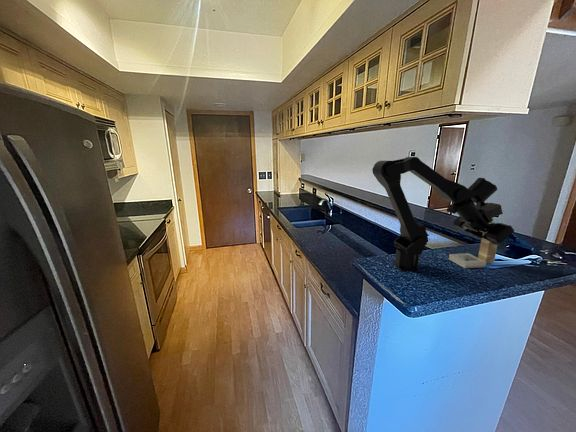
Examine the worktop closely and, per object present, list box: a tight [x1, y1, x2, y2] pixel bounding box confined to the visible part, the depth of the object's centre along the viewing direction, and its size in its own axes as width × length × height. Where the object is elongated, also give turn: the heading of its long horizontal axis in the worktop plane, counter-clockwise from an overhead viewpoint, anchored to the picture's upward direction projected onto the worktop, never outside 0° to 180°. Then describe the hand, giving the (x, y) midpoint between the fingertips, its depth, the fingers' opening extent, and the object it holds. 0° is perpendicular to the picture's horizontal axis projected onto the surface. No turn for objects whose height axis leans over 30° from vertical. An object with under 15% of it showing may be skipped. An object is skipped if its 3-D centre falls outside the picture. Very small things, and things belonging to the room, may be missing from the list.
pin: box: [477, 221, 499, 264], centre depth 85 cm, size 3×3×14 cm
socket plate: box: [448, 252, 487, 269], centre depth 86 cm, size 8×8×2 cm
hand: (492, 242), depth 85 cm, fingers closed on pin, 3 cm apart
